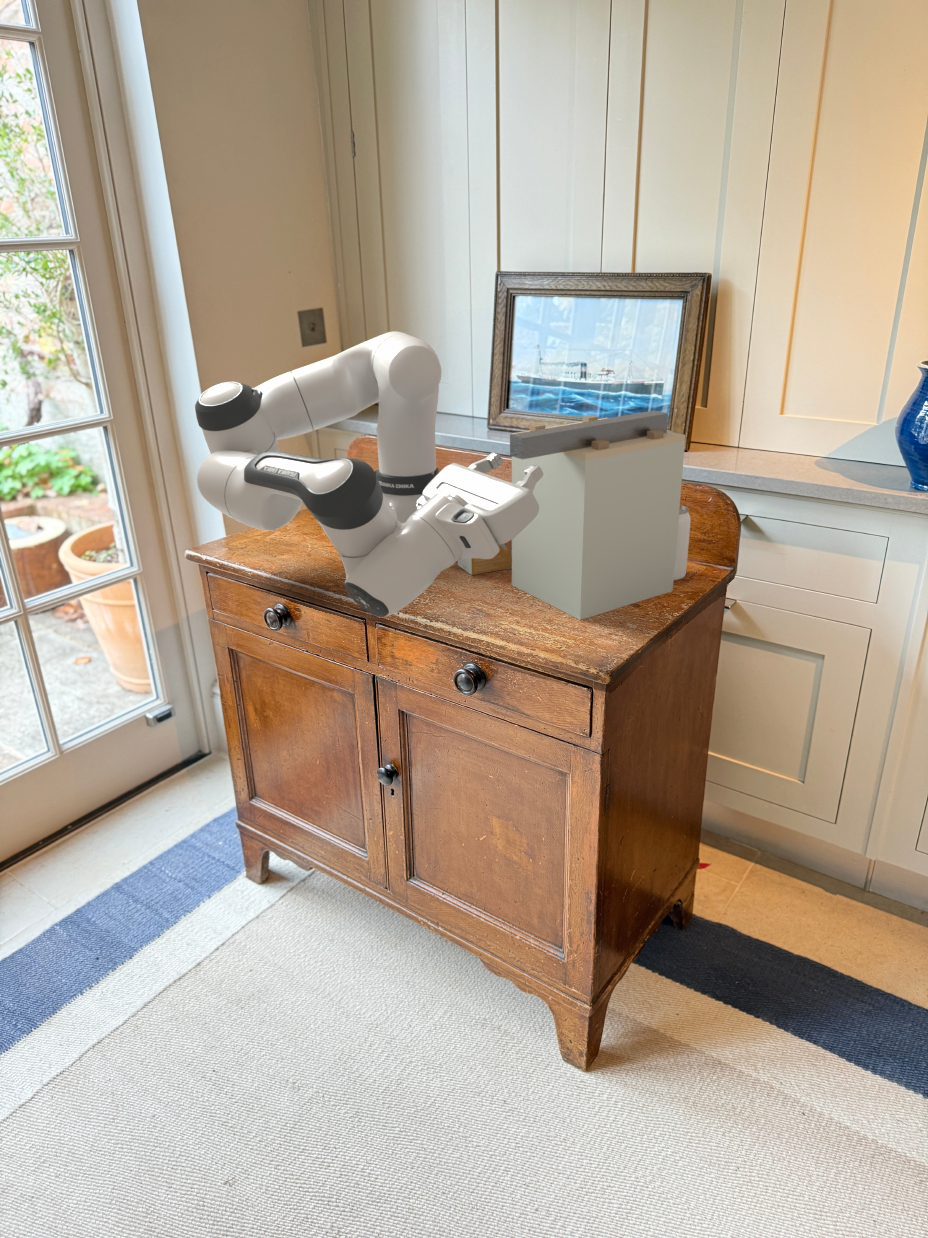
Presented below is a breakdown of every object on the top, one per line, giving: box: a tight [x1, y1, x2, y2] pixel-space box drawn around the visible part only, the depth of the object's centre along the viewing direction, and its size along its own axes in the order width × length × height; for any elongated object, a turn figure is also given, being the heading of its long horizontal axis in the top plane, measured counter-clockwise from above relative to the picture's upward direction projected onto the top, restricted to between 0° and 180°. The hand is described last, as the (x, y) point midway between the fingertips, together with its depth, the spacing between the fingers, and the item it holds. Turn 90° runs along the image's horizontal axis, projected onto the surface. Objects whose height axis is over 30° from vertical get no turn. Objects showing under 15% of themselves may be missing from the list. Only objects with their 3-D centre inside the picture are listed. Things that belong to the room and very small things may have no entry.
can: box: [673, 504, 692, 582], centre depth 145 cm, size 6×6×12 cm
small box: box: [457, 540, 512, 576], centre depth 151 cm, size 8×6×13 cm
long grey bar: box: [509, 410, 669, 459], centre depth 126 cm, size 28×3×3 cm, turn 123°
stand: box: [511, 414, 686, 621], centre depth 137 cm, size 20×18×27 cm
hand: (518, 462), depth 119 cm, fingers open, 8 cm apart
